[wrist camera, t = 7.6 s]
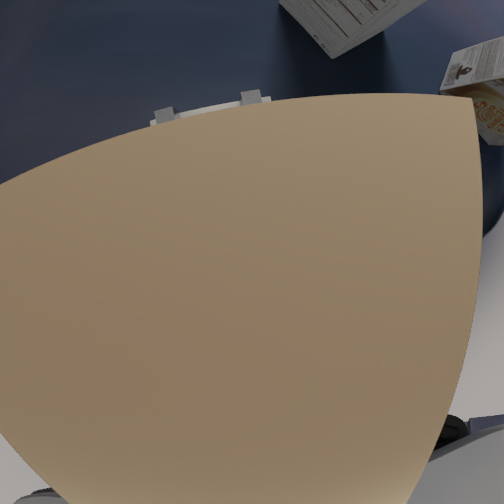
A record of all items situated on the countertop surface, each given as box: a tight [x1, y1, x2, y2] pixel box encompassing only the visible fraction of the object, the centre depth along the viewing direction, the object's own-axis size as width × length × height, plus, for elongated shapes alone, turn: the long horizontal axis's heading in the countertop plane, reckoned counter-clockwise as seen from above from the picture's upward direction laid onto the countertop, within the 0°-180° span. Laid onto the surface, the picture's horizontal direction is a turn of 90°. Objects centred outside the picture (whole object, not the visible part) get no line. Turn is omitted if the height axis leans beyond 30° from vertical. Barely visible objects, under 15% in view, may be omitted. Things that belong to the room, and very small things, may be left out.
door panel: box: [0, 93, 483, 504], centre depth 9 cm, size 14×3×12 cm, turn 10°
